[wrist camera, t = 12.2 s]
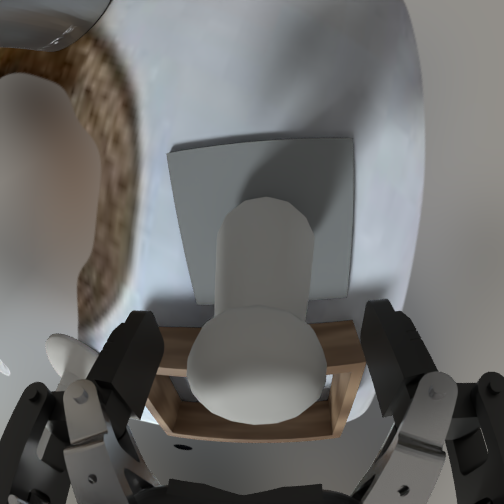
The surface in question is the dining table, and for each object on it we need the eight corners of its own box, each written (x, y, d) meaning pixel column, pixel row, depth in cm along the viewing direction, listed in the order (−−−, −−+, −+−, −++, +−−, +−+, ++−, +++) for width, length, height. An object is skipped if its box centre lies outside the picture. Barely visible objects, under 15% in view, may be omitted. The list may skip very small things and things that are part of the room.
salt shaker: (320, 201, 17) (397, 353, 6) (295, 274, 20) (312, 447, 8) (232, 179, 17) (152, 307, 5) (216, 256, 20) (158, 421, 8)
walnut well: (137, 325, 24) (117, 362, 20) (352, 320, 22) (366, 361, 18) (176, 404, 30) (167, 435, 26) (334, 403, 28) (339, 437, 24)
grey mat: (169, 152, 17) (166, 153, 16) (350, 138, 16) (352, 138, 15) (198, 300, 22) (197, 305, 22) (345, 293, 21) (346, 297, 21)
